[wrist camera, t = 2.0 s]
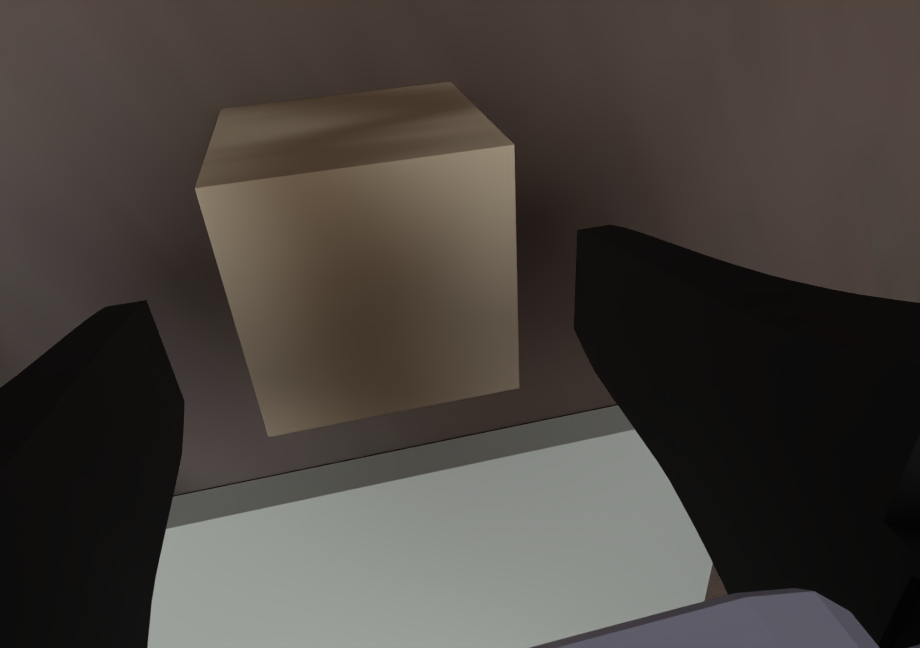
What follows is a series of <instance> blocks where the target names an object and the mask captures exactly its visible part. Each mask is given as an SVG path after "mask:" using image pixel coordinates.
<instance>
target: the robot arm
mask: <svg viewBox="0 0 920 648" xmlns="http://www.w3.org/2000/svg"><path fill="white" fill-rule="evenodd" d="M574 330H575V332H576V334H577V336H578V338H579V340H580V343H581V345H582V347H583V349H584V351H585V353H586V355H587V357H588V359H589V361H590V363H591V365H592V367H593V369H594V371H595V372H596V374H597V375H598V377H599V378H600V380H601V381H602V383H603V384H604V386H605V387H606V389H607V390H608V392H609V393H610V395H611V396H612V398H613V399H614V400H615V402H616V403H617V405H618V406H619V408H620V409H621V410H622V412H623V413H624V415H625V416H626V418H627V419H628V420H629V422H630V423H631V425H632V426H633V428H634V429H635V430H636V432H637V433H638V435H639V436H640V438H641V439H642V440H643V442H644V443H645V445H646V446H647V448H648V449H649V450H650V452H651V453H652V455H653V456H654V458H655V459H656V460H657V462H658V463H659V465H660V467H661V468H662V470H663V471H664V473H665V475H666V476H667V478H668V479H669V481H670V483H671V484H672V486H673V488H674V490H675V492H676V494H677V495H678V497H679V499H680V501H681V503H682V505H683V506H684V508H685V510H686V512H687V514H688V516H689V518H690V519H691V521H692V523H693V525H694V527H695V529H696V531H697V533H698V535H699V537H700V539H701V541H702V543H703V544H704V546H705V548H706V550H707V552H708V554H709V556H710V558H711V560H712V562H713V564H714V566H715V568H716V570H717V572H718V574H719V576H720V578H721V580H722V582H723V584H724V586H725V589H726V591H727V593H728V595H726V596H722V597H718V598H715V599H711V600H707V601H703V602H700V603H696V604H692V605H688V606H684V607H681V608H677V609H673V610H669V611H666V612H662V613H658V614H654V615H650V616H647V617H643V618H639V619H635V620H632V621H628V622H624V623H620V624H616V625H613V626H609V627H605V628H601V629H598V630H594V631H590V632H586V633H582V634H579V635H575V636H571V637H567V638H564V639H560V640H556V641H552V642H548V643H545V644H541V645H537V646H533V647H530V648H920V303H915V302H907V301H900V300H893V299H886V298H879V297H873V296H866V295H859V294H854V293H848V292H842V291H837V290H832V289H827V288H823V287H818V286H814V285H809V284H804V283H800V282H795V281H791V280H787V279H783V278H779V277H775V276H771V275H768V274H764V273H761V272H757V271H754V270H751V269H747V268H744V267H740V266H737V265H734V264H731V263H727V262H724V261H721V260H718V259H715V258H712V257H709V256H706V255H703V254H700V253H697V252H695V251H692V250H689V249H686V248H683V247H680V246H677V245H675V244H672V243H669V242H666V241H663V240H660V239H658V238H655V237H652V236H649V235H646V234H643V233H640V232H637V231H634V230H630V229H627V228H623V227H619V226H614V225H606V226H600V227H594V228H588V229H581V230H577V255H576V283H575V312H574ZM183 427H184V399H183V396H182V394H181V391H180V388H179V386H178V383H177V380H176V378H175V375H174V372H173V370H172V367H171V364H170V362H169V359H168V356H167V354H166V351H165V348H164V346H163V343H162V340H161V338H160V335H159V332H158V330H157V327H156V324H155V322H154V319H153V316H152V314H151V311H150V308H149V306H148V303H147V300H145V301H139V302H132V303H126V304H120V305H114V306H108V307H105V308H103V309H101V310H100V311H98V312H97V313H95V314H94V315H92V316H91V317H89V318H88V319H87V320H85V321H84V322H83V323H82V324H80V325H79V326H78V327H76V328H75V329H74V330H73V331H71V332H70V333H69V334H68V335H66V336H65V337H64V338H63V339H62V340H60V341H59V342H58V343H57V344H55V345H54V346H53V347H52V348H50V349H49V350H48V351H47V352H45V353H44V354H43V355H42V356H41V357H39V358H38V359H37V360H36V361H34V362H33V363H32V364H31V365H29V366H28V367H27V368H26V369H24V370H23V371H22V372H21V373H19V374H18V375H17V376H16V377H14V378H13V379H12V380H10V381H9V382H8V383H6V384H5V385H4V386H2V387H1V388H0V648H147V647H148V636H149V626H150V615H151V605H152V597H153V591H154V585H155V579H156V573H157V569H158V564H159V559H160V555H161V550H162V545H163V541H164V536H165V532H166V527H167V522H168V518H169V513H170V508H171V504H172V499H173V494H174V490H175V485H176V480H177V475H178V470H179V465H180V460H181V455H182V443H183Z"/></svg>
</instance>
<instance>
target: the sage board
mask: <svg viewBox="0 0 920 648" xmlns="http://www.w3.org/2000/svg"><path fill="white" fill-rule="evenodd" d="M712 564H713V562H712V560H711V558H710V556H709V554H708V552H707V550H706V548H705V546H704V544H703V543H702V541H701V539H700V537H699V535H698V533H697V531H696V529H695V527H694V525H693V523H692V521H691V519H690V518H689V516H688V514H687V512H686V510H685V508H684V506H683V505H682V503H681V501H680V499H679V497H678V495H677V494H676V492H675V490H674V488H673V486H672V484H671V483H670V481H669V479H668V478H667V476H666V475H665V473H664V471H663V470H662V468H661V467H660V465H659V463H658V462H657V460H656V459H655V458H654V456H653V455H652V453H651V452H650V450H649V449H648V448H647V446H646V445H645V443H644V442H643V440H642V439H641V438H640V436H639V435H638V433H637V432H636V430H635V429H634V428H633V426H632V425H631V423H630V422H629V420H628V419H627V418H626V416H625V415H624V413H623V412H622V410H621V409H620V408H619V406H618V405H617V406H612V407H607V408H602V409H597V410H592V411H587V412H582V413H578V414H573V415H568V416H563V417H558V418H553V419H548V420H544V421H539V422H534V423H529V424H524V425H519V426H514V427H510V428H505V429H500V430H495V431H490V432H485V433H480V434H476V435H471V436H466V437H461V438H456V439H451V440H446V441H441V442H437V443H432V444H427V445H422V446H417V447H412V448H407V449H403V450H398V451H393V452H388V453H383V454H378V455H373V456H369V457H364V458H359V459H354V460H349V461H344V462H339V463H335V464H330V465H325V466H320V467H315V468H310V469H305V470H301V471H296V472H291V473H286V474H281V475H276V476H271V477H266V478H262V479H257V480H252V481H247V482H242V483H237V484H232V485H228V486H223V487H218V488H213V489H208V490H203V491H198V492H194V493H189V494H184V495H179V496H174V497H173V499H172V504H171V508H170V513H169V518H168V522H167V527H166V532H165V536H164V541H163V545H162V550H161V555H160V559H159V564H158V569H157V573H156V579H155V585H154V591H153V597H152V605H151V615H150V626H149V636H148V647H147V648H530V647H533V646H537V645H541V644H545V643H548V642H552V641H556V640H560V639H564V638H567V637H571V636H575V635H579V634H582V633H586V632H590V631H594V630H598V629H601V628H605V627H609V626H613V625H616V624H620V623H624V622H628V621H632V620H635V619H639V618H643V617H647V616H650V615H654V614H658V613H662V612H666V611H669V610H673V609H677V608H681V607H684V606H688V605H692V604H696V603H700V602H703V601H704V600H705V596H706V591H707V587H708V582H709V577H710V573H711V568H712Z"/></svg>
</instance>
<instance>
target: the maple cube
mask: <svg viewBox="0 0 920 648" xmlns="http://www.w3.org/2000/svg"><path fill="white" fill-rule="evenodd" d="M195 191H196V194H197V198H198V201H199V204H200V208H201V211H202V215H203V218H204V221H205V225H206V228H207V231H208V235H209V238H210V242H211V245H212V248H213V252H214V255H215V258H216V262H217V265H218V269H219V272H220V275H221V279H222V282H223V286H224V289H225V292H226V296H227V299H228V302H229V306H230V309H231V313H232V316H233V319H234V323H235V326H236V329H237V333H238V336H239V340H240V343H241V346H242V350H243V353H244V356H245V360H246V363H247V367H248V370H249V373H250V377H251V380H252V384H253V387H254V390H255V394H256V397H257V400H258V404H259V407H260V411H261V414H262V417H263V421H264V424H265V427H266V431H267V434H268V437H272V436H277V435H282V434H287V433H292V432H298V431H303V430H308V429H313V428H318V427H323V426H328V425H333V424H339V423H344V422H349V421H354V420H359V419H364V418H369V417H374V416H379V415H385V414H390V413H395V412H400V411H405V410H410V409H415V408H420V407H425V406H431V405H436V404H441V403H446V402H451V401H456V400H461V399H466V398H471V397H477V396H482V395H487V394H492V393H497V392H502V391H507V390H512V389H518V388H519V348H518V299H517V251H516V202H515V153H514V144H513V143H512V142H511V141H510V140H509V139H508V138H507V137H506V136H505V135H504V134H503V133H502V132H501V131H500V130H499V129H498V128H497V127H496V126H495V125H494V124H493V123H492V122H491V121H490V120H489V119H488V118H487V117H486V116H485V115H484V114H483V113H482V112H481V111H480V110H479V109H478V108H477V107H476V106H475V105H474V104H473V103H472V102H471V101H470V100H469V99H468V98H467V97H466V96H465V95H464V94H463V93H462V92H461V91H460V90H459V89H458V88H457V87H456V86H455V85H454V84H453V83H452V82H443V83H434V84H426V85H417V86H409V87H401V88H392V89H384V90H376V91H367V92H359V93H350V94H342V95H334V96H325V97H317V98H309V99H300V100H292V101H283V102H275V103H267V104H258V105H250V106H242V107H233V108H225V109H221V110H220V113H219V116H218V119H217V122H216V125H215V128H214V131H213V134H212V138H211V141H210V144H209V147H208V150H207V153H206V156H205V159H204V162H203V165H202V168H201V171H200V174H199V177H198V180H197V183H196V186H195Z"/></svg>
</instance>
